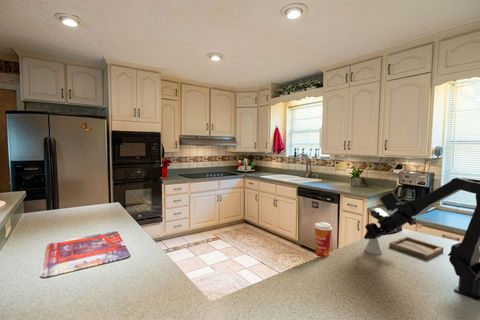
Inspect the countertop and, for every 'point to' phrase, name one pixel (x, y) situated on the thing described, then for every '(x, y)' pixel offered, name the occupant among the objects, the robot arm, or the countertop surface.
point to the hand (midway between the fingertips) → (371, 236)
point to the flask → (373, 247)
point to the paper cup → (322, 238)
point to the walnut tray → (416, 247)
